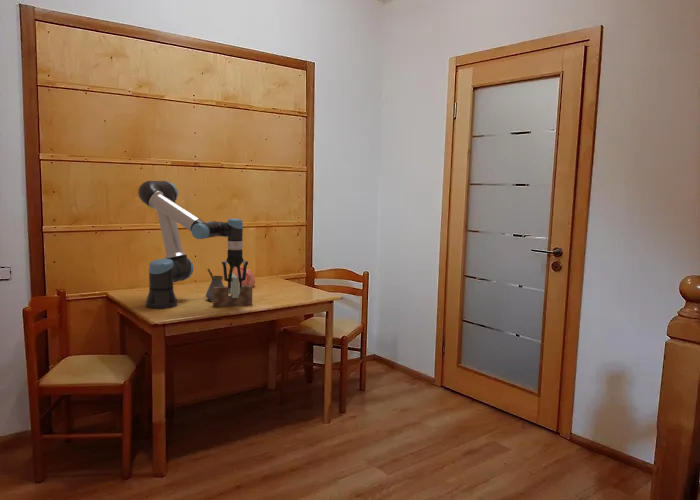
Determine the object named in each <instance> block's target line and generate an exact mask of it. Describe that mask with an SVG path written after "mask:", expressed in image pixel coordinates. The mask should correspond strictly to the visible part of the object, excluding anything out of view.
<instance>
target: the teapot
mask: <svg viewBox="0 0 700 500" xmlns="http://www.w3.org/2000/svg"><path fill="white" fill-rule="evenodd" d="M240 271H241V278H242V275H243V266H240ZM232 274H234V275H236V276H237V277H238V272H237V267H233V272H232ZM254 285H256V279H255V276H254V274H253V273H252V271H251V269H249V268H246V278H245V280H243V281H242V286H252V287H253V286H254Z"/></svg>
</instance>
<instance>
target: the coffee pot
mask: <svg viewBox="0 0 700 500" xmlns="http://www.w3.org/2000/svg"><path fill="white" fill-rule="evenodd" d="M206 272H208V274H209V276H210V278H211V282H210V284H209V287H208V289H207V291H206V293H205V297H206V298H207V299H208V300H209V301H210V302H213V287H225V285H224V283H223V281H222V280H223V279H224V275H223V276H222V275H213V273H212V272H211V270H210V268H207V270H206Z"/></svg>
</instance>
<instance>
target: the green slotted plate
mask: <svg viewBox="0 0 700 500" xmlns="http://www.w3.org/2000/svg"><path fill="white" fill-rule="evenodd" d="M228 276H229V273H227V277H228ZM231 281H232V295H231V294H230V288H229V295H230V296H231V297H232V298H238V296H239V278H238V277H237V276H236V275H234V274H233V273H232V278H231Z"/></svg>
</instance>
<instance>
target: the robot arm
mask: <svg viewBox="0 0 700 500" xmlns="http://www.w3.org/2000/svg"><path fill="white" fill-rule="evenodd" d="M137 194H138V198H139V200H141V202H142V203H144V204H145V205H147V206H148V207H149V208H151V209H154V210H155V211H156V212H157V213H156V214H157V218H158V222H159V228H160V230H161V231H160V232H161V236H162V240H163V246H164V250H165V256H164V258H159V259H154V260H152V261H150V263H149V265H148V266H149V268H148V277H149V278H148V279H149V280H148V282H149V283H148V285H149V286H148V287H149V288H148V289H149V290H148V294H147V297H146V300H145V307H147V308H148V309H149V308H150V309H159V310H160V309H169V308H174V307H177V305H178V300H177V297H176V294H175V290H174V283H179V282H183V281H185V280H187V279H189V278H190V277H191V276H192V275H193V272H194V263H193V262H192V260H191V259H190V258H188V256H187V253H185V252H184V251H183V246H182V241H181V237H180V231H179V227H178V224H179V225H181V226H182V227H184V228H185V229H186V230H188V231H190V232H191V235H192V236H193V238H195V239H196V240H205V239H210V238H216V237H222V238H223V237H224V238H227V258H226V259H225V260H224V261H222V262H221V264H222V266H223V267H222V268H223V279H224V281H225V282H227V286H228V288H230V294H229V295H230V296H231V295H232V281H231V278H232V274H233V270H234V268H233V267H236V268H237V272H238V278H239V294H240V288H241V287H242V281H243V280H245V278H246V269H248V268H247V267H248V264H249V262H248V260H244V257H243V242H244V241H243V239H244V238H243V237H244V236H243V232H244V231H243V230H244V225H243V220H242V219H241V218H228V219H227V221H215V220H212V221H208V222H205V221H203V219H201V218H199V217H197V216H196V215H194V214H193V213H191V212H190V211H188V210H187V209H185V208H184V207H182V206H181V205H179V204H177V203H176V201H177V198H178V196H179V191H178V189H177V187H176V186H175V184H173V183H172V182H170V181H166V180H146V181H144V182H142V184H141V185H140V186H139V187H138V191H137ZM242 264H243V266H242V267H243V275H242V278H241V271H240V267H241V265H242ZM227 265H229V270H227ZM227 271H229V272H228V273H227ZM228 274H229V276H228Z"/></svg>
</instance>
